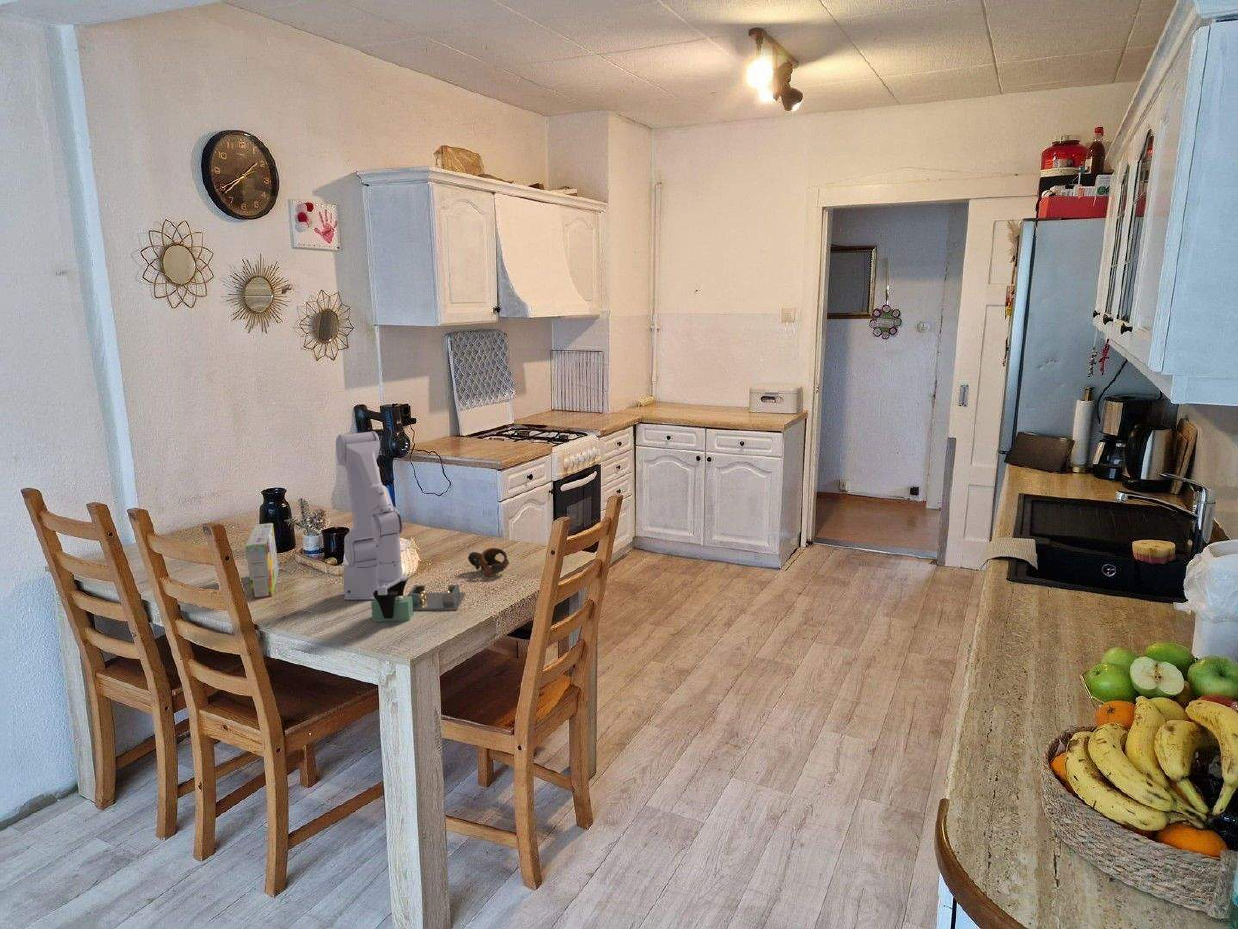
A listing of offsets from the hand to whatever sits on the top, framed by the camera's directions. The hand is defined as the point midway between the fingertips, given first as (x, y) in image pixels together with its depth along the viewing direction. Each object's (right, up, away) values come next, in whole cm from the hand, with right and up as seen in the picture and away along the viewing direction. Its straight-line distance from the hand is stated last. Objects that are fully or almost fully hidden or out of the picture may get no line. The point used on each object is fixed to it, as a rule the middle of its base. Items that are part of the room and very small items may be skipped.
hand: (392, 612), depth 200 cm
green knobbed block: (0, -2, 0) cm, 2 cm away
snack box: (-42, +3, +25) cm, 49 cm away
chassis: (+8, +1, +10) cm, 13 cm away
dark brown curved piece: (+19, +5, +33) cm, 38 cm away
